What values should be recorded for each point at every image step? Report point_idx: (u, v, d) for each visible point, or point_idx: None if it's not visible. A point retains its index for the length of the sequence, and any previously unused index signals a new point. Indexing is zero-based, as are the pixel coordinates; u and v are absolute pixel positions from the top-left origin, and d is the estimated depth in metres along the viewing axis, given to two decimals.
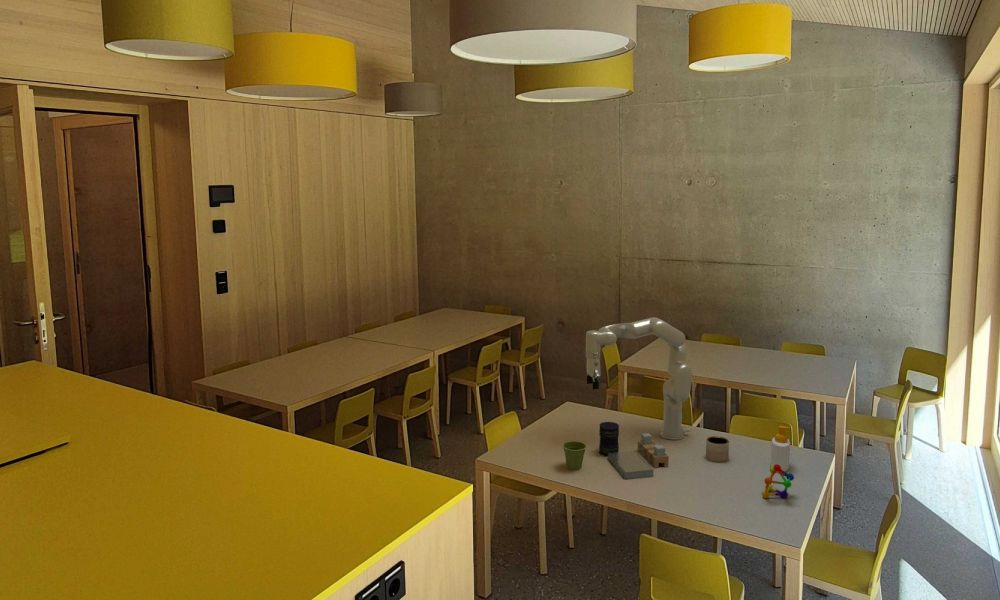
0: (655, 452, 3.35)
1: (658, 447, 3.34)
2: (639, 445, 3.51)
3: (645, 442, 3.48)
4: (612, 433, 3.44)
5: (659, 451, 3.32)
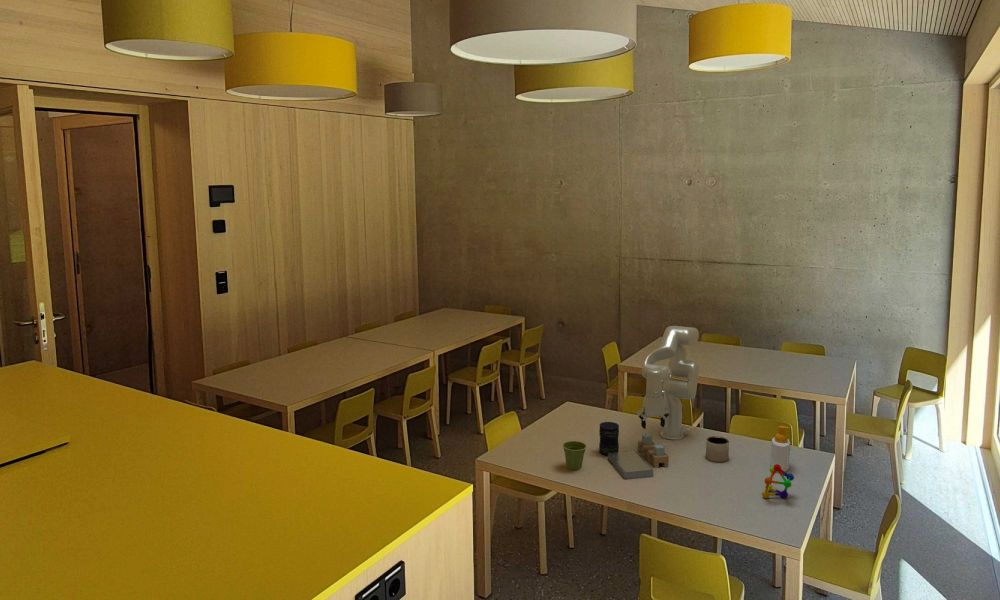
0: (654, 451, 3.35)
1: (657, 446, 3.34)
2: (639, 445, 3.51)
3: (645, 442, 3.48)
4: (612, 433, 3.44)
5: (659, 451, 3.33)
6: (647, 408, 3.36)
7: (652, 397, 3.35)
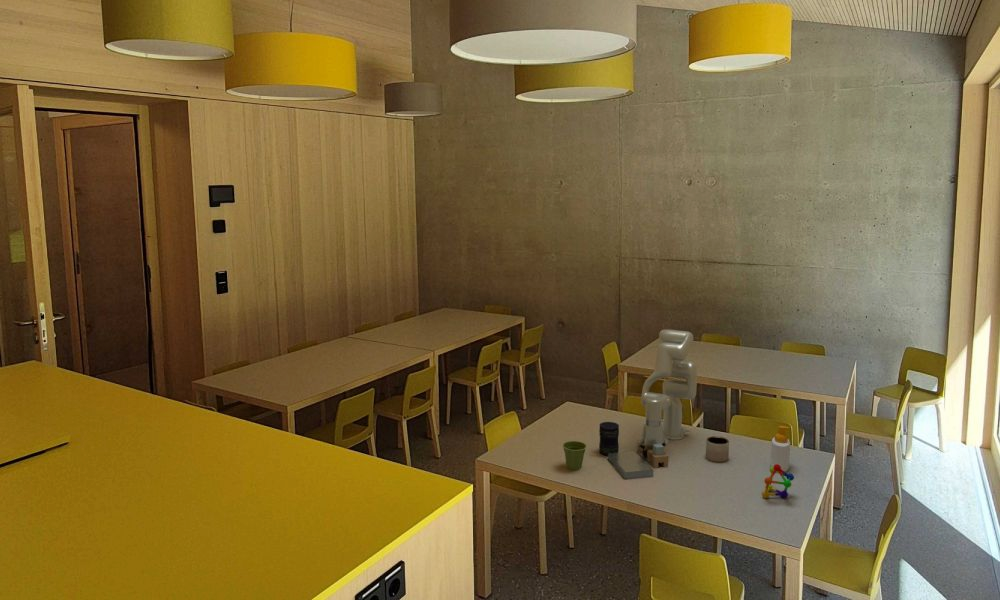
0: (654, 451, 3.36)
1: (657, 446, 3.35)
2: None
3: None
4: (612, 433, 3.44)
5: (658, 450, 3.34)
6: (646, 437, 3.39)
7: (651, 426, 3.37)
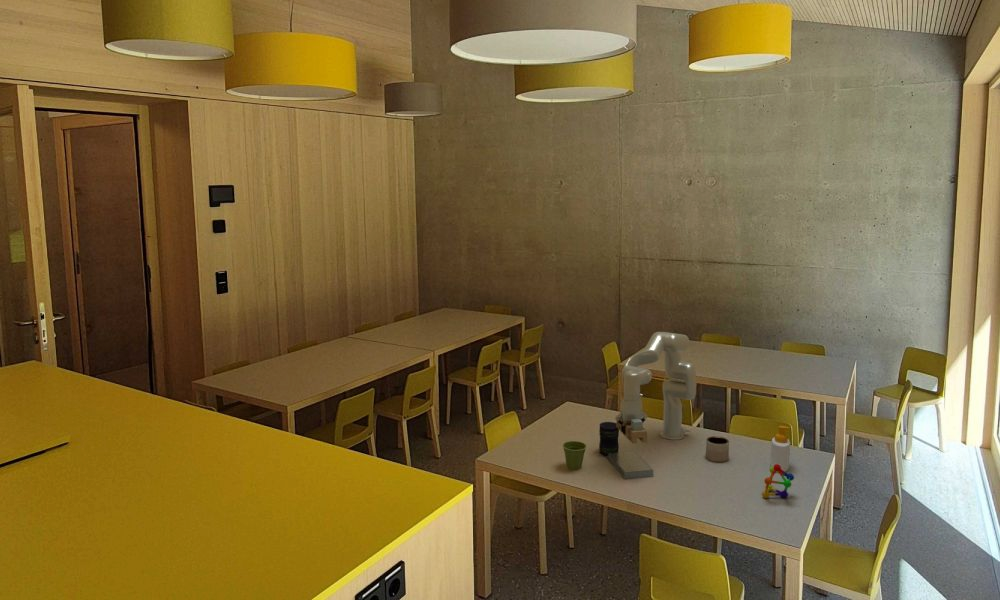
0: (632, 426, 3.23)
1: (635, 421, 3.22)
2: None
3: None
4: (612, 433, 3.44)
5: (636, 425, 3.21)
6: (625, 412, 3.26)
7: (630, 400, 3.24)
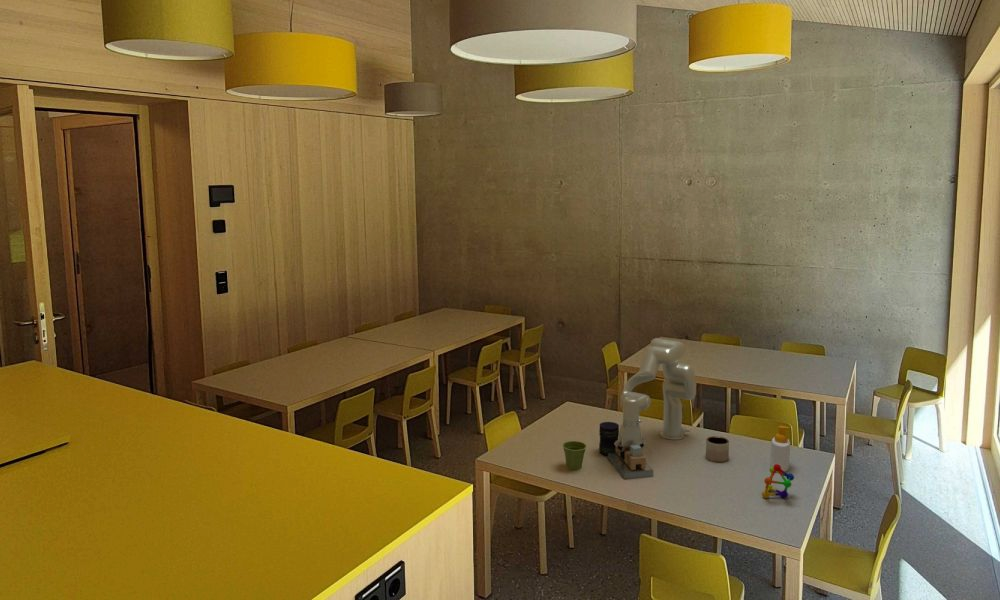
0: (631, 452, 3.25)
1: (634, 447, 3.24)
2: None
3: None
4: (612, 433, 3.44)
5: (635, 451, 3.23)
6: (624, 438, 3.28)
7: (628, 427, 3.26)
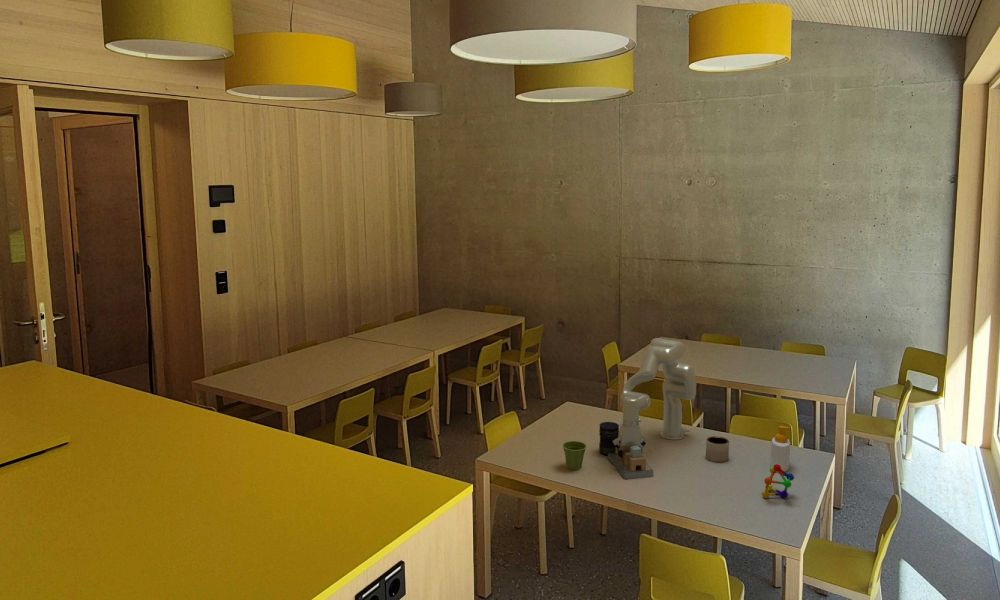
0: (631, 453, 3.25)
1: (634, 448, 3.24)
2: None
3: None
4: (612, 433, 3.44)
5: (635, 452, 3.23)
6: (623, 437, 3.28)
7: (628, 426, 3.26)
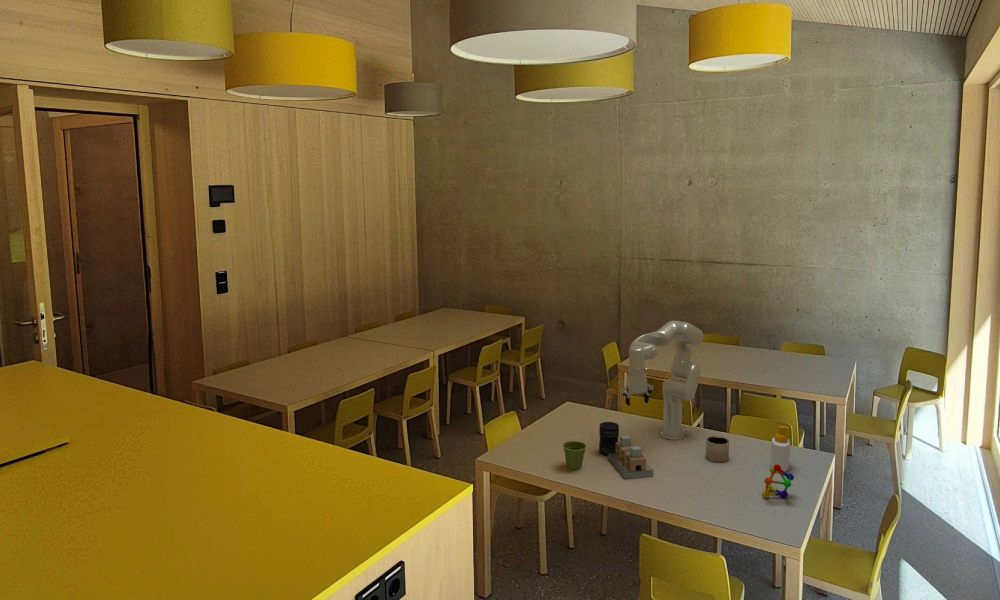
0: (631, 453, 3.25)
1: (634, 448, 3.24)
2: (617, 446, 3.40)
3: (624, 445, 3.37)
4: (612, 433, 3.44)
5: (635, 452, 3.23)
6: (630, 385, 3.41)
7: (635, 374, 3.39)
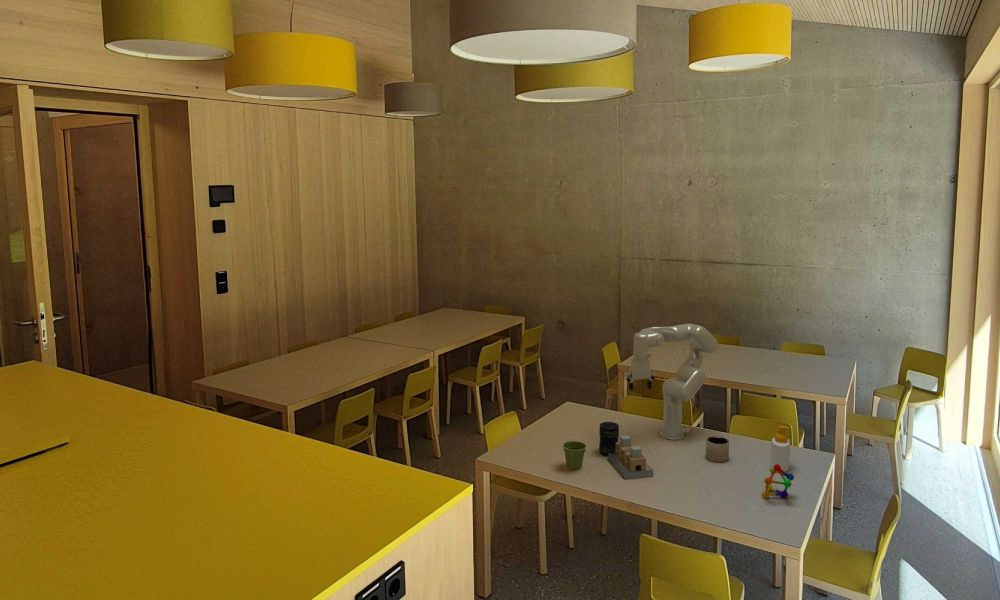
0: (631, 453, 3.25)
1: (634, 448, 3.24)
2: (617, 446, 3.40)
3: (624, 445, 3.37)
4: (612, 433, 3.44)
5: (635, 452, 3.23)
6: (634, 371, 3.51)
7: (639, 360, 3.50)
